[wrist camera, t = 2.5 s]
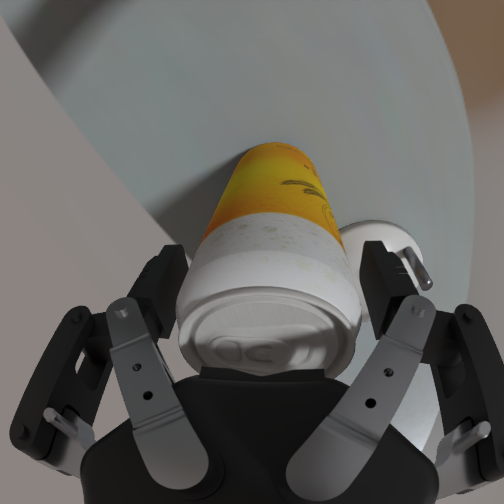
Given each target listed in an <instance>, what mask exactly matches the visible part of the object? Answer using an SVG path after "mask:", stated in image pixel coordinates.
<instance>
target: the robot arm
mask: <svg viewBox="0 0 504 504" xmlns="http://www.w3.org/2000/svg"><path fill="white" fill-rule="evenodd" d="M188 270H189V268H188V264H187V260H186V256H185V252H184V249H183V246H182V245H180V244H179V245H165V246H164V247H163V249H162V250H161V252H160V254H159V255H158V256H154V257H153V258H152V259H151V260H150V261H148V262H147V264H146V265H145V267H144V268H143V271H142V272H141V273H140V275H139V278H137V280H136V281H135V283H134V285H133V286H132V288H131V290H130V292H129V293H128V295H127V297H124V298H120V299H118V300H116V301H114V302H113V303H111V304H110V305H109V307H108V308H107V310H106V312H103V313H97V314H91V312H90V310H89V309H88V308H87V307H86V306H77V307H74V308H72V309H71V310H70V311H68V312H67V314H66V315H65V316H64V318H63V319H62V321H61V323H60V325H59V326H58V328H57V330H56V331H55V333H54V335H53V337H52V338H51V340H50V342H49V344H48V346H47V348H46V350H45V351H44V353H43V355H42V357H41V359H40V361H39V363H38V365H37V367H36V369H35V371H34V373H33V375H32V377H31V379H30V381H29V383H28V386H27V388H26V390H25V392H24V394H23V397H22V399H21V401H20V404H19V406H18V408H17V411H16V413H15V416H14V419H13V421H12V424H11V427H10V433H9V435H10V440H11V442H12V444H13V446H14V447H15V448H17V449H18V450H20V451H22V452H23V453H25V454H27V455H28V456H30V457H31V458H32V459H34V460H36V461H37V462H39V463H41V464H43V465H45V466H47V467H48V468H50V469H53V470H56V471H58V472H61V473H63V474H65V475H68V476H72V475H73V476H75V477H77V478H80V479H81V484H82V488H83V494H84V504H435V501H436V500H438V499H441V498H444V497H447V496H450V495H453V494H465V493H467V492H470V491H473V490H475V489H478V488H480V487H483V486H485V485H488V484H490V483H492V482H494V481H497V480H499V479H501V478H503V477H504V364H503V361H502V359H501V356H500V354H499V351H498V349H497V346H496V344H495V342H494V339H493V337H492V335H491V333H490V330H489V328H488V326H487V324H486V322H485V320H484V318H483V316H482V314H481V312H480V311H479V310H478V309H477V308H475V307H474V306H472V305H469V304H461V305H459V306H457V307H456V309H455V311H454V313H449V312H443V311H438V310H436V308H435V306H434V304H433V303H432V302H431V301H430V300H429V299H427V298H425V297H423V296H420V295H419V293H418V291H417V289H416V287H415V285H414V283H413V281H412V279H411V277H410V275H409V274H408V271H407V269H406V268H405V266H404V264H403V262H402V260H401V258H400V257H398V256H397V255H396V254H395V253H394V252H388V251H387V249H386V247H385V245H384V244H383V242H382V241H381V240H378V241H365V242H364V245H363V251H362V257H361V263H360V269H359V280H360V285H361V288H362V291H363V295H364V298H365V301H366V305H367V308H368V312H369V315H370V319H371V323H372V326H373V330H374V334H375V338H376V340H379V342H378V344H377V345H376V347H375V349H374V350H373V352H372V354H371V355H370V357H369V359H368V360H367V362H366V363H365V365H364V366H363V368H362V369H361V371H360V373H359V374H358V376H357V377H356V378H355V380H354V381H353V383H352V384H351V386H348V385H346V384H344V383H342V382H340V381H338V380H335V379H331V378H327V377H325V373H324V369H294V370H289V371H285V372H280V373H276V374H271V375H266V376H257V375H253V374H250V373H246V372H242V371H238V370H235V369H231V368H218V367H204V366H202V367H201V371H200V375H195V376H191V377H188V378H185V379H182V380H180V381H178V382H175V380H174V378H173V376H172V374H171V372H170V370H169V368H168V366H167V364H166V361H165V359H164V357H163V355H162V353H161V351H160V348H159V346H158V345H157V342H158V339H159V338H165V339H169V337H170V334H171V331H172V328H173V326H174V323H175V320H176V301H177V297H178V294H179V291H180V289H181V287H182V284H183V282H184V280H185V277H186V275H187V272H188ZM81 351H82V352H83V353H84V354H85V357H84V359H83V362H82V364H81V366H80V368H79V370H78V373H77V374H76V371H75V365H76V362H77V360H78V358H79V356H80V353H81ZM419 363H425V364H430V367H431V371H432V375H433V379H434V383H435V387H436V392H437V396H438V401H439V406H440V411H441V417H442V423H443V428H444V436H445V437H443V438H442V440H441V441H440V443H439V445H438V448H437V455H436V461H435V464H433V463H432V462H431V460H430V459H428V458H427V457H426V456H425V455H424V454H423V453H422V452H421V451H420V450H419V449H417V448H416V447H415V446H414V445H413V444H412V443H411V442H410V441H409V440H408V439H406V438H405V437H404V436H403V435H402V434H401V433H400V432H399V431H398V430H397V429H396V428H395V427H393V426H392V425H391V424H390V422H391V420H392V418H393V416H394V415H395V413H396V411H397V409H398V407H399V405H400V403H401V401H402V399H403V397H404V395H405V393H406V391H407V389H408V387H409V385H410V383H411V381H412V379H413V377H414V374H415V372H416V370H417V368H418V365H419ZM113 366H114V369H115V373H116V377H117V380H118V383H119V387H120V390H121V393H122V396H123V399H124V402H125V405H126V408H127V411H128V414H129V417H130V418H129V419H127V420H126V421H125V422H123V423H122V424H120V425H119V426H118V427H116V428H115V429H114V430H112V431H111V432H110V433H108V434H107V435H105V436H104V437H103V438H101V439H100V440H99V441H97V442H96V440H95V439H94V438H95V437H94V431H93V429H92V425H93V423H94V419H95V416H96V413H97V410H98V407H99V404H100V401H101V398H102V395H103V393H104V390H105V387H106V384H107V381H108V379H109V376H110V373H111V370H112V368H113Z"/></svg>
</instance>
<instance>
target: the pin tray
mask: <svg viewBox="0 0 504 504" xmlns="http://www.w3.org/2000/svg"><path fill="white" fill-rule="evenodd" d="M338 231H339V234H340V237H341V240H342V243H343V246H344V249H345V252H346V255H347V258H348V261H349V265H350V268H351V271H352V275H353V278H354V281H355V285H356V288H357V292H358V296H359V299H360V303H361V307H362V322H367V321H371V319H370V315H369V312H368V308H367V305H366V301H365V298H364V295H363V291H362V288H361V285H360V280H359V269H360V263H361V257H362V251H363V245H364V242H365V241H378V240H381V241H382V242H383V244H384V245H385V247H386V249H387V251H388V252H394V253H395V254H396V255H397V256H398V257H400V258H401V260H402V262H403V264H404V266H405V268H406V269H407V271H408V274H409V275H410V277H411V279H412V281H413V283H414V285H415V287H416V288H417V286H418V284H419V285H420V287H421V289H422V290H423V291H427V290H429V289H430V288H431V287H432V285H433V282H432V280H431V278H430V277H429V275H428V273H427V271H426V270H425V268H424V266H423V259H422V254H421V252H420V249H419V247H418V246H417V244H416V243H415V241H414V240H413V238H412V237H411V236H410V234H409V233H408V232H407V231H405V230H404V229H403V228H401V227H400V226H398V225H396V224H393V223H391V222H386V221H380V220H369V221H362V222H357V223H354V224H351V225H348V226H346V227H344V228H342V229H340V230H338Z"/></svg>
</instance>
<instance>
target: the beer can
mask: <svg viewBox="0 0 504 504" xmlns="http://www.w3.org/2000/svg"><path fill="white" fill-rule="evenodd" d="M176 319H177V323H178V328H179V336H178V341H179V347H180V350H181V353H182V355H183V357H184V358H185V360H186V361H187V363H188V364H189V365H190V366H191V367H192V368H193V369H194V370H195V371H197V372H198V373H199V374H200V371H201V367H202V366H204V367H218V368H231V369H235V370H238V371H242V372H246V373H250V374H253V375H257V376H266V375H271V374H276V373H280V372H285V371H289V370H294V369H324V373H325V377H327V378H331V379H334V378H336V377H337V376H338V375H340V374H341V373H342V372H343V371H344V370H345V369H346V368H347V366H348V365H349V364H350V362H351V360H352V358H353V356H354V352H355V345H356V343H355V341H356V338H357V335H358V333H359V330H360V326H361V322H362V307H361V303H360V299H359V296H358V292H357V288H356V285H355V281H354V278H353V275H352V271H351V268H350V265H349V261H348V258H347V255H346V252H345V249H344V246H343V243H342V240H341V237H340V234H339V231H338V228H337V225H336V222H335V219H334V216H333V213H332V211H331V208H330V205H329V202H328V200H327V197H326V194H325V192H324V189H323V186H322V184H321V181H320V179H319V176H318V174H317V171H316V169H315V166H314V164H313V163H312V161H311V160H310V158H309V157H308V156H307V155H306V154H305V153H304V152H302V151H301V150H299V149H298V148H296V147H294V146H292V145H289V144H285V143H278V142H272V143H265V144H261V145H259V146H256V147H254V148H252V149H251V150H250V151H248V152H247V153H246V154H245V155H244V156H243V157H242V158H241V159H240V161H239V162H238V164H237V166H236V168H235V170H234V172H233V174H232V176H231V178H230V180H229V183H228V185H227V187H226V189H225V191H224V193H223V195H222V197H221V199H220V201H219V203H218V206H217V208H216V210H215V212H214V214H213V216H212V218H211V221H210V223H209V225H208V227H207V229H206V232H205V234H204V236H203V238H202V240H201V243H200V245H199V247H198V249H197V252H196V254H195V256H194V259H193V261H192V263H191V265H190V268H189V270H188V272H187V275H186V277H185V280H184V282H183V284H182V287H181V289H180V291H179V294H178V297H177V301H176Z"/></svg>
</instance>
